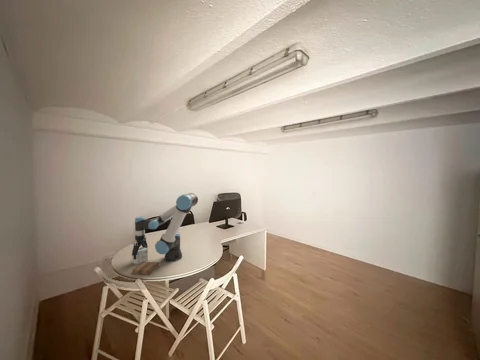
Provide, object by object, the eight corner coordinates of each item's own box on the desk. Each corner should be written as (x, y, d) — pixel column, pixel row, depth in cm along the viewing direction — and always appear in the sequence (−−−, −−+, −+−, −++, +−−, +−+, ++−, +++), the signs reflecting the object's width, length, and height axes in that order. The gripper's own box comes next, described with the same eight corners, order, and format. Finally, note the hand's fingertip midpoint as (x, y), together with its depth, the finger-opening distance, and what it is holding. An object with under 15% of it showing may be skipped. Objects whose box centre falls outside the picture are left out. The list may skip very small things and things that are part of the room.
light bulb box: (144, 258, 177) (144, 246, 176) (148, 260, 173) (148, 248, 172) (132, 262, 169) (131, 250, 168) (135, 264, 164) (135, 252, 164)
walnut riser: (159, 265, 163) (159, 262, 163) (149, 274, 149) (149, 270, 149) (143, 264, 165) (143, 261, 164) (132, 273, 151) (132, 269, 150)
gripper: (144, 230, 182) (144, 253, 183) (126, 239, 158) (126, 265, 159) (151, 230, 181) (151, 253, 182) (135, 239, 157) (135, 266, 158)
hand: (140, 259), depth 170 cm, fingers closed on light bulb box, 12 cm apart
